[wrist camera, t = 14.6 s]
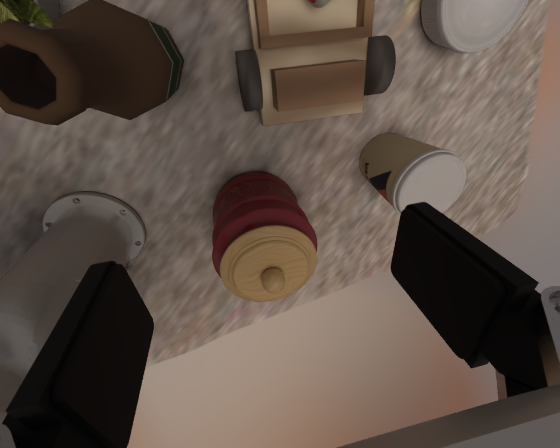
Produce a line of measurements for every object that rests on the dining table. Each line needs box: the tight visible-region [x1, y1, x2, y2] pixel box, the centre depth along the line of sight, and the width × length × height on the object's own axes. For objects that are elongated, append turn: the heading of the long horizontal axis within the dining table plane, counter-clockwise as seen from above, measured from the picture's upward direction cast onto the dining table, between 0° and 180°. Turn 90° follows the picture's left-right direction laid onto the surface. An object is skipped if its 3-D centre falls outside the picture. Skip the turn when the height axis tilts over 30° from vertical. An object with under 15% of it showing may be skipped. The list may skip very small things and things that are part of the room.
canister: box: [212, 172, 317, 302], centre depth 35 cm, size 13×13×18 cm
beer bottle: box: [0, 0, 184, 125], centre depth 20 cm, size 8×8×24 cm
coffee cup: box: [360, 133, 466, 215], centre depth 37 cm, size 9×9×12 cm
